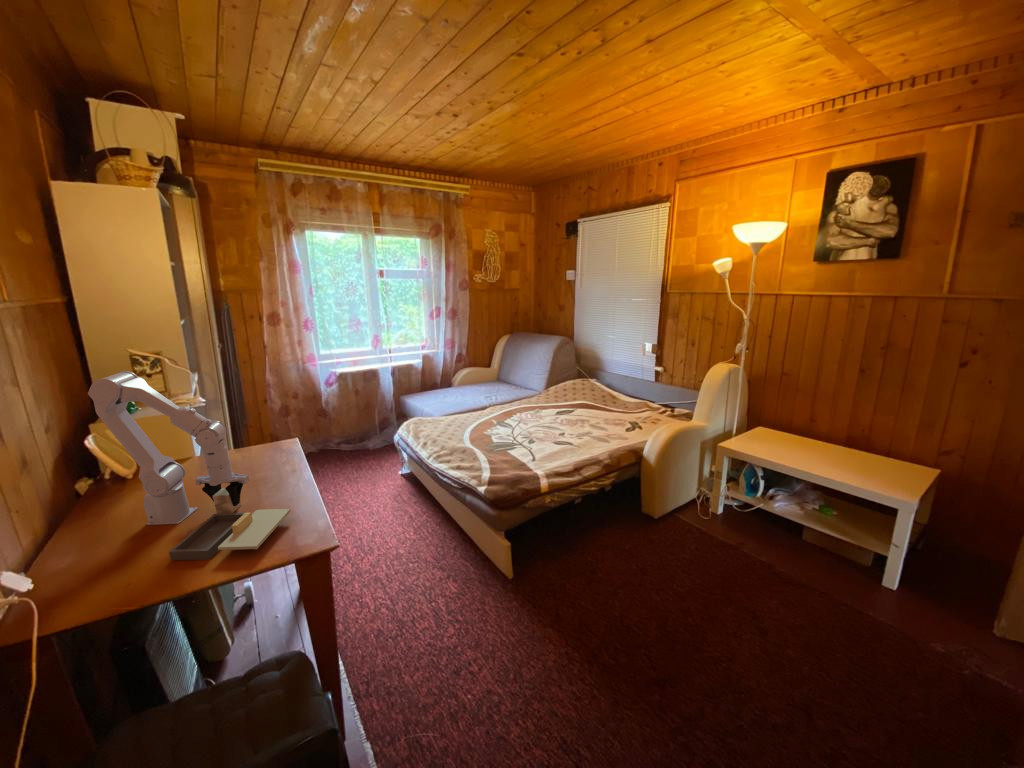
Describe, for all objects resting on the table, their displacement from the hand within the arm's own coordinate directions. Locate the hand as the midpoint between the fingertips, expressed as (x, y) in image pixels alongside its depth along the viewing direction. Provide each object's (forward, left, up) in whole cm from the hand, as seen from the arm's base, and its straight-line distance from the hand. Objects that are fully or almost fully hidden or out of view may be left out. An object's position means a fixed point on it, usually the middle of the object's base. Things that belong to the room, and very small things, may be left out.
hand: (228, 504), depth 126 cm
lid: (+17, -14, +1) cm, 23 cm away
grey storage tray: (+5, -15, -2) cm, 15 cm away
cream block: (0, 0, -2) cm, 2 cm away
